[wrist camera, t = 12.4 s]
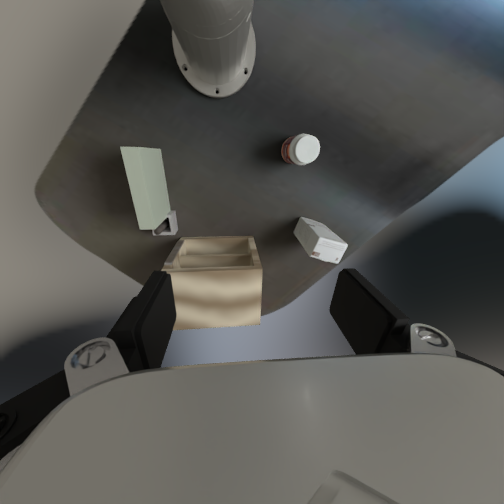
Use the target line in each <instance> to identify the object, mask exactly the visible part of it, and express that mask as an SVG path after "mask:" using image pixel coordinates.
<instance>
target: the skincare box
mask: <svg viewBox="0 0 504 504" xmlns="http://www.w3.org/2000/svg"><path fill="white" fill-rule="evenodd" d="M293 233H294V235H295V236H296V237H297V239H298V240H299V242H300V243H301V245H302V246H303V247H304V249H305V250H306V252H307V253H308V255H309V256H310V257H313V258H317V259H320V260H322V261H327V262H332V263H336V264H338V263H339V261H340V259H341V258H342V256H343V254H344V252H345V250H346V248H347V246H348V244H347V243H345V242H344V241H343V240H342V239H340V238H339V237H338V236H337V235H336V234H335V233H333V232H332V231H331V230H330V229H328V228H327V227H326V226H325V225H324V224H322V223H320V222H317V221H314V220H311V219H308V218H304V217H300V218H299V221H298V223H297V225H296V228H295V230H294V232H293Z"/></svg>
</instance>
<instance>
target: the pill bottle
mask: <svg viewBox="0 0 504 504" xmlns="http://www.w3.org/2000/svg"><path fill="white" fill-rule="evenodd" d="M319 151H320V144H319V141H318V140H317V138H316V137H314V136H312V135H308V134H300V135H296V136H292V137H290V138H288V139H287V140H286V141H285V142H284V143H283V145H282V149H281V154H282V157H283V159H284V160H285V161H286V162H287V163H290V164H296V165H305V164H307V163H310V162H312V161H314V160H315V159H316V158H317V156H318V154H319Z"/></svg>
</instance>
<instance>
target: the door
mask: <svg viewBox="0 0 504 504" xmlns="http://www.w3.org/2000/svg"><path fill="white" fill-rule="evenodd" d="M120 149H121V153H122V157H123V161H124V165H125V170H126V174H127V178H128V182H129V186H130V191H131V195H132V199H133V203H134V207H135V211H136V216H137V220H138V224H139V228H140V230H150V229H152V232H153V235H156V234H155V233H154V230H155V229H156V228H157V227H158V226H159V225H160V224H161V223H162V222H163V221H164V220H165V219H166V218H169V222H170V227H166V228H165V229H164V230H163V231H162V232H161V234H159V235H175V234H176V232H177V231H178V226H177V220H176V213H175V211H171V210H170V204H169V198H168V191H167V185H166V179H165V173H164V167H163V161H162V154H161V149H154V148H143V147H120Z"/></svg>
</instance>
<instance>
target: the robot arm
mask: <svg viewBox="0 0 504 504" xmlns="http://www.w3.org/2000/svg"><path fill="white" fill-rule="evenodd" d="M160 2H161V4H162V7H163V9H164V11H165V13H166V15H167V18H168V20H169V22H170V24H171V26H172V44H173V50H174V55H175V58H176V61H177V64H178V66H179V68H180V70H181V72H182V74H183V75H184V77H185V78H186V80H187V81H188V82H189V83H190V84H191V86H192V87H194V88H195V89H196V90H197V91H198V92H200V93H202V94H204V95H206V96H209V97H212V98H226V97H229V96H231V95H234V94H235V93H237V92H238V91H239V90H240V89H241V88H242V87H243V86H244V85H245V83H246V82H247V80H248V79H249V77H250V74H251V72H252V69H253V65H254V60H255V54H256V42H255V34H254V30H253V26H252V23H251V16H252V9H253V3H254V0H160ZM185 68H187V71H185ZM245 71H246V72H247V74H244V72H245ZM216 91H218V92H219V93H218V94H216ZM330 314H331V315H332V317H333V319H334V320H335V322H336V323H337V325H338V327H339V328H340V330H341V331H342V333H343V334H344V336H345V338H346V339H347V341H348V342H349V344H350V346H351V347H352V349H353V350H354V352H355V353H356V355H341V356H324V357H306V358H291V359H273V360H257V361H242V362H229V363H228V362H227V363H213V364H198V365H187V366H174V367H164V368H160V367H161V364H162V360H163V358H164V355H165V352H166V349H167V346H168V343H169V340H170V337H171V333H172V330H173V327H174V324H175V321H176V315H177V314H176V307H175V300H174V294H173V287H172V280H171V275H170V274H167V272H166V271H154V272H153V273H152V274H151V276H150V277H149V279H148V281H147V282H146V284H145V285H144V287H143V288H142V290H141V291H140V293H139V294H138V296H137V297H134V298H133V299H132V300H131V302H130V303H129V304H128V306H127V307H126V309H125V310H124V312H123V313H122V315H121V316H120V318H119V319H118V321H117V322H116V324H115V325H114V327H113V328H112V329H111V331H110V332H109V334H108V335H107V337H106V338H97V339H93V340H90V341H88V342H86V343H84V344H82V345H80V346H79V347H78V348H76V349H75V350H74V351H73V352H72V353H71V354H70V355H69V356H68V357H67V359H66V361H65V366H64V367H65V369H64V370H63V371H60V372H59V373H57V374H55V375H53V376H52V377H50V378H48V379H46V380H44V381H43V382H41V383H39V384H37V385H35V386H33V387H32V388H30V389H28V390H26V391H24V392H23V393H21V394H19V395H17V396H16V397H14V398H12V399H10V400H8V401H6V402H5V403H3V404H1V405H0V504H504V371H502V370H500V369H498V368H496V367H493V366H491V365H489V364H486V363H484V362H482V361H479V360H477V359H475V358H472V357H470V356H468V355H465V354H463V353H461V352H458V351H456V350H455V349H454V345H453V343H452V341H451V340H450V339H449V338H448V337H447V336H446V335H445V334H444V333H442V332H441V331H439V330H437V329H436V328H433V327H431V326H428V325H424V324H413V325H411V326H410V325H409V324H408V321H409V318H408V317H407V316H406V315H405V314H404V313H403V312H402V311H401V310H399V309H398V308H397V307H396V306H395V305H394V304H393V303H392V302H391V301H390V300H388V299H387V298H386V297H385V296H384V295H383V294H382V293H381V292H380V291H379V290H377V289H376V288H375V287H374V286H373V285H372V284H371V283H370V282H369V281H367V279H365V278H364V277H363V276H362V275H361V274H360V273H359V272H358V271H357V270H356V269H343V270H342V271H341V272H340V273H339V275H338V279H337V283H336V287H335V290H334V294H333V298H332V301H331V305H330Z"/></svg>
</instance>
